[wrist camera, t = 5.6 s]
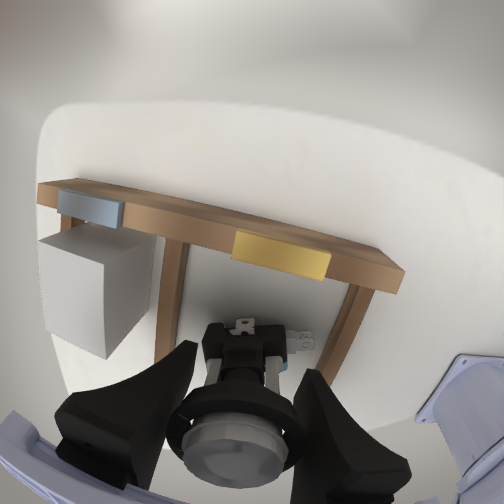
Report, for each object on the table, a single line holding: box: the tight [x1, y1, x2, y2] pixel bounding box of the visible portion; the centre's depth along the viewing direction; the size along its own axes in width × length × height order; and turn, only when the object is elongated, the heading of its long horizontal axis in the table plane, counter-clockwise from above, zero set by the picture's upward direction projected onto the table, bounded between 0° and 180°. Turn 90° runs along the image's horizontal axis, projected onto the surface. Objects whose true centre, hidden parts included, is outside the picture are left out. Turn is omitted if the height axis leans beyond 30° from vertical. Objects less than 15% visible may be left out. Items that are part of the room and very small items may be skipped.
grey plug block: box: [38, 222, 156, 360], centre depth 15 cm, size 4×6×6 cm
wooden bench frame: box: [37, 178, 405, 387], centre depth 15 cm, size 20×11×5 cm, turn 77°
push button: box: [166, 318, 314, 489], centre depth 12 cm, size 7×5×10 cm
